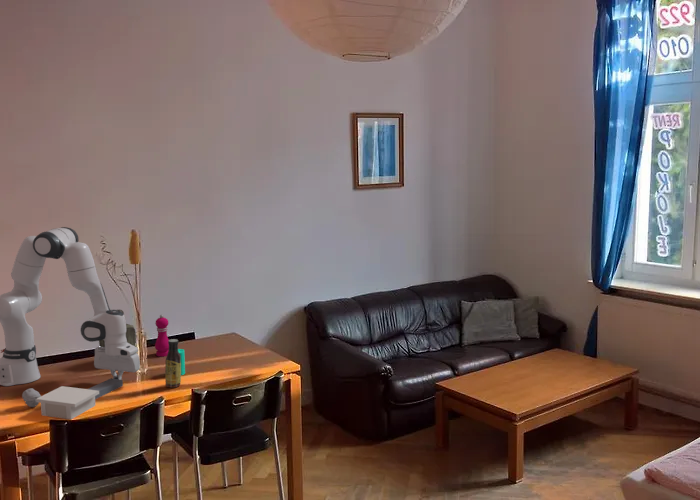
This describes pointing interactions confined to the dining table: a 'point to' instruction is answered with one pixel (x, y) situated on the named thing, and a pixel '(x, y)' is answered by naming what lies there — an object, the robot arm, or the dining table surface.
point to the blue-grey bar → (107, 386)
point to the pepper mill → (162, 337)
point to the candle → (182, 360)
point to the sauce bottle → (173, 365)
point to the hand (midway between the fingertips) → (117, 379)
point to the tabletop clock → (129, 335)
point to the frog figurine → (31, 397)
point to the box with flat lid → (67, 402)
